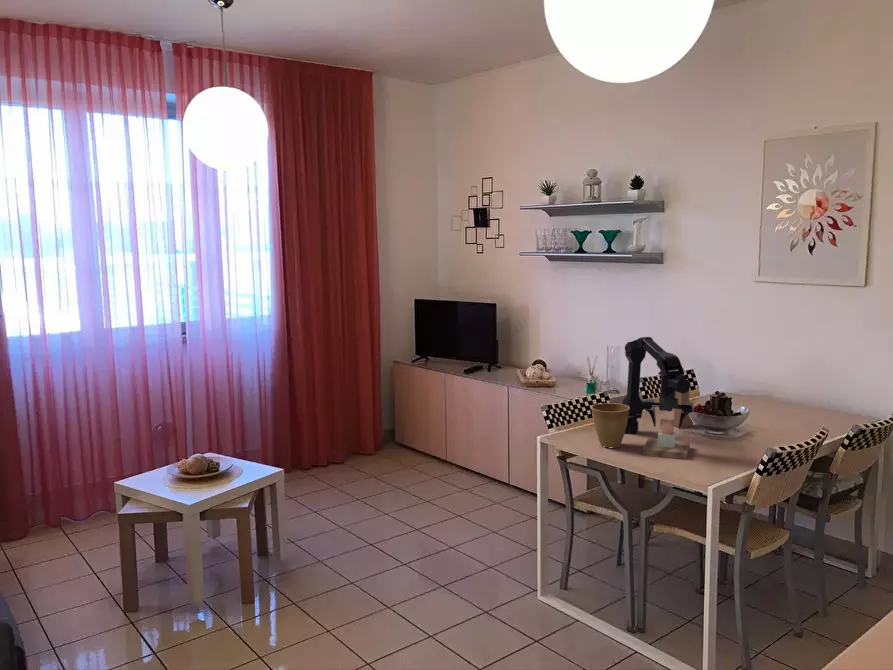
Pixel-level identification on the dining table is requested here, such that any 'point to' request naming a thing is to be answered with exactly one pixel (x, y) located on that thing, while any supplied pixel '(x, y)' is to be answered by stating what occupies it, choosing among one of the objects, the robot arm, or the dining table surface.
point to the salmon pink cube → (667, 426)
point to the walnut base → (666, 449)
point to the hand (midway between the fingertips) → (667, 427)
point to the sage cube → (666, 440)
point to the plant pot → (610, 423)
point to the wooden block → (677, 412)
